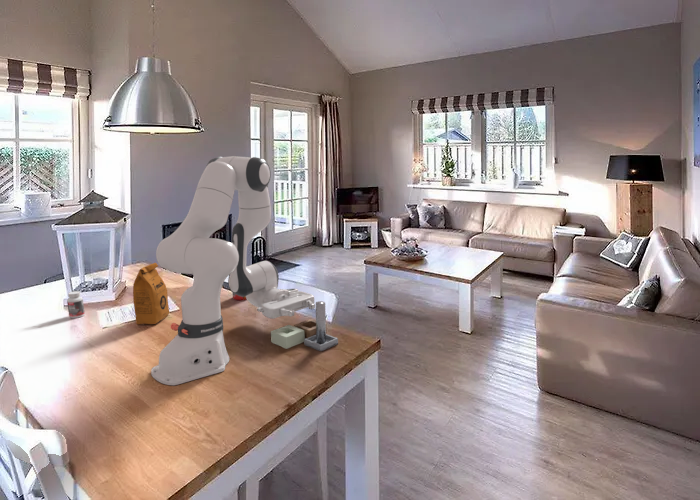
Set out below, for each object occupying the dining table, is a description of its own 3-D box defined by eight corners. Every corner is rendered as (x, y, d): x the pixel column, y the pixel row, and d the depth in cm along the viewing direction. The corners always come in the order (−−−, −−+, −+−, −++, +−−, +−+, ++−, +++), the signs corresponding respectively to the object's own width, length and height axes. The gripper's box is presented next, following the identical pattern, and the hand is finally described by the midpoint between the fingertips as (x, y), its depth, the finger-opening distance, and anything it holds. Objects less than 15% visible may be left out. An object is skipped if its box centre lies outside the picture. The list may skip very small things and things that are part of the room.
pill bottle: (68, 319, 177) (65, 295, 175) (69, 315, 182) (66, 291, 180) (84, 317, 180) (81, 293, 178) (85, 313, 184) (82, 289, 182)
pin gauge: (321, 345, 150) (320, 304, 147) (314, 342, 152) (313, 302, 149) (327, 342, 152) (327, 302, 149) (321, 340, 154) (320, 300, 151)
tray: (320, 351, 147) (320, 345, 146) (304, 344, 152) (304, 339, 151) (338, 343, 152) (337, 338, 152) (321, 337, 158) (321, 332, 157)
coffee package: (174, 315, 181) (169, 261, 176) (156, 327, 169) (150, 269, 164) (151, 314, 182) (145, 261, 178) (131, 325, 170) (125, 268, 166)
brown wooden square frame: (309, 341, 154) (309, 330, 154) (294, 335, 160) (293, 324, 159) (326, 334, 160) (326, 324, 159) (311, 329, 165) (310, 318, 165)
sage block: (286, 348, 149) (286, 337, 148) (271, 342, 154) (270, 331, 153) (304, 341, 155) (304, 330, 154) (289, 335, 160) (288, 324, 159)
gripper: (253, 300, 157) (279, 309, 148) (298, 287, 171) (324, 294, 162) (254, 317, 158) (279, 327, 149) (299, 303, 173) (324, 311, 164)
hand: (303, 310), depth 156 cm, fingers open, 8 cm apart
